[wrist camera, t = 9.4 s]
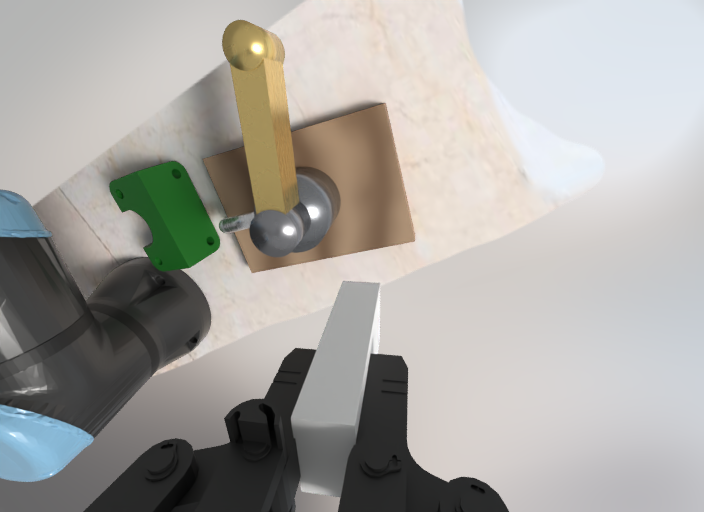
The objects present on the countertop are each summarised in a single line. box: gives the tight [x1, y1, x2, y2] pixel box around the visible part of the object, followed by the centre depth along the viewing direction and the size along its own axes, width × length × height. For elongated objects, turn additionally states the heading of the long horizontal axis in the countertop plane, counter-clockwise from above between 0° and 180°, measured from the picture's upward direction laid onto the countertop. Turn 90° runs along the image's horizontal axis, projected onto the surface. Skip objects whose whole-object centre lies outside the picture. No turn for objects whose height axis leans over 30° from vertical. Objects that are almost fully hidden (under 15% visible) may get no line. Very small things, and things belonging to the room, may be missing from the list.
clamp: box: [109, 161, 220, 272], centre depth 40 cm, size 12×6×9 cm, turn 12°
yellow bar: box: [222, 20, 311, 257], centre depth 27 cm, size 16×4×4 cm, turn 2°
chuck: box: [219, 167, 341, 253], centre depth 35 cm, size 13×7×6 cm, turn 105°
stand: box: [203, 103, 415, 273], centre depth 37 cm, size 20×14×2 cm
